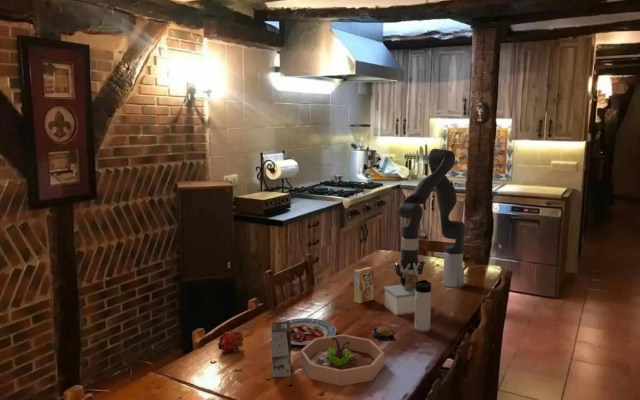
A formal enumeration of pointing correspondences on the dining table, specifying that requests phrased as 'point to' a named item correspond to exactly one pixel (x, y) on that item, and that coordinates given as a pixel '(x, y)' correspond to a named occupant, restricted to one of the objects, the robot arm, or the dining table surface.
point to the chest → (400, 304)
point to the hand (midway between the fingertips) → (409, 284)
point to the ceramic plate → (309, 330)
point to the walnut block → (410, 280)
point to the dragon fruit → (230, 341)
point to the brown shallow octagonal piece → (347, 374)
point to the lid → (400, 291)
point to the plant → (340, 358)
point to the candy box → (363, 285)
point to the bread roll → (383, 334)
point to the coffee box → (281, 349)
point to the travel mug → (422, 306)
